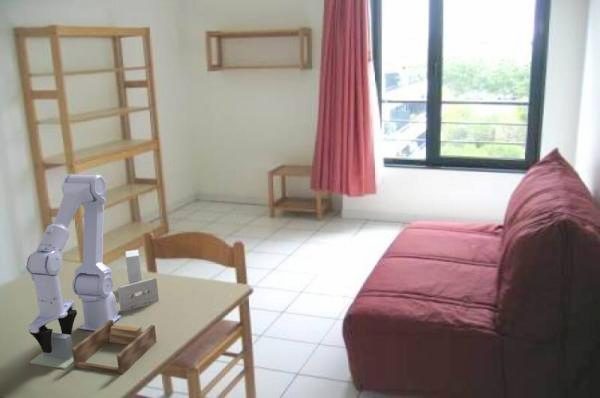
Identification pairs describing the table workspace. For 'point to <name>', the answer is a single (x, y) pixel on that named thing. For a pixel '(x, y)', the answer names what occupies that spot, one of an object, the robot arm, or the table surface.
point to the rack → (123, 358)
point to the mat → (52, 361)
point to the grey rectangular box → (61, 346)
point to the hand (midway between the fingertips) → (57, 344)
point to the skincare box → (133, 266)
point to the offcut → (124, 333)
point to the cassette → (140, 299)
